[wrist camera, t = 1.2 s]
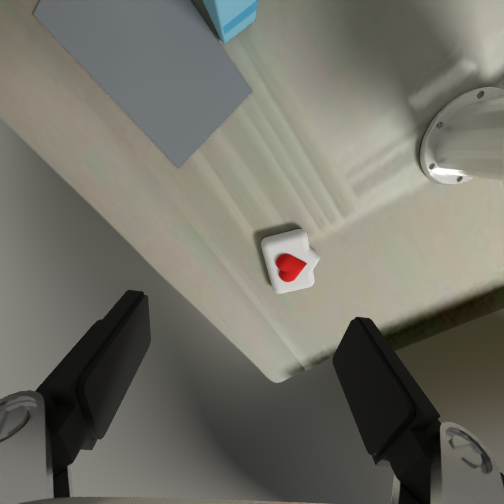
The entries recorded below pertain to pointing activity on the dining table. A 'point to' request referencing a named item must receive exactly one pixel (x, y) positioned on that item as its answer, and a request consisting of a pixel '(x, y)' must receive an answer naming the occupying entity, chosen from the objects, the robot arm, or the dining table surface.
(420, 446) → the robot arm
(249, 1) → the data package
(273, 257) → the icon
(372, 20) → the dining table surface
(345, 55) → the dining table surface
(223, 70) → the mat
